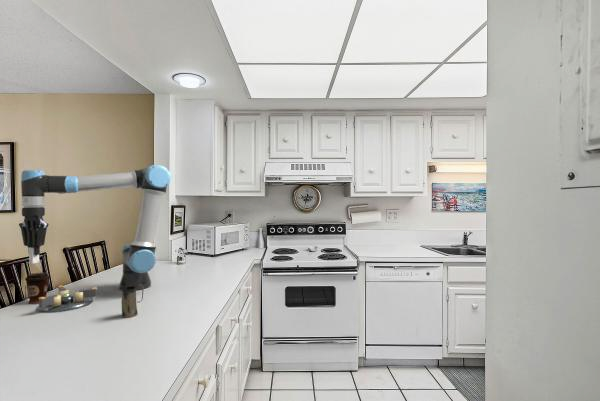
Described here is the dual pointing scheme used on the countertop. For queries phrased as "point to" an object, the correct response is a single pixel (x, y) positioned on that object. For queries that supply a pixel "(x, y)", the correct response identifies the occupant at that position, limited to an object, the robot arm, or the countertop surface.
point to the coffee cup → (36, 286)
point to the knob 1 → (50, 301)
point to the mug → (129, 301)
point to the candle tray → (66, 304)
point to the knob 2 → (62, 290)
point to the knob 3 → (85, 294)
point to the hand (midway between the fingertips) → (34, 262)
